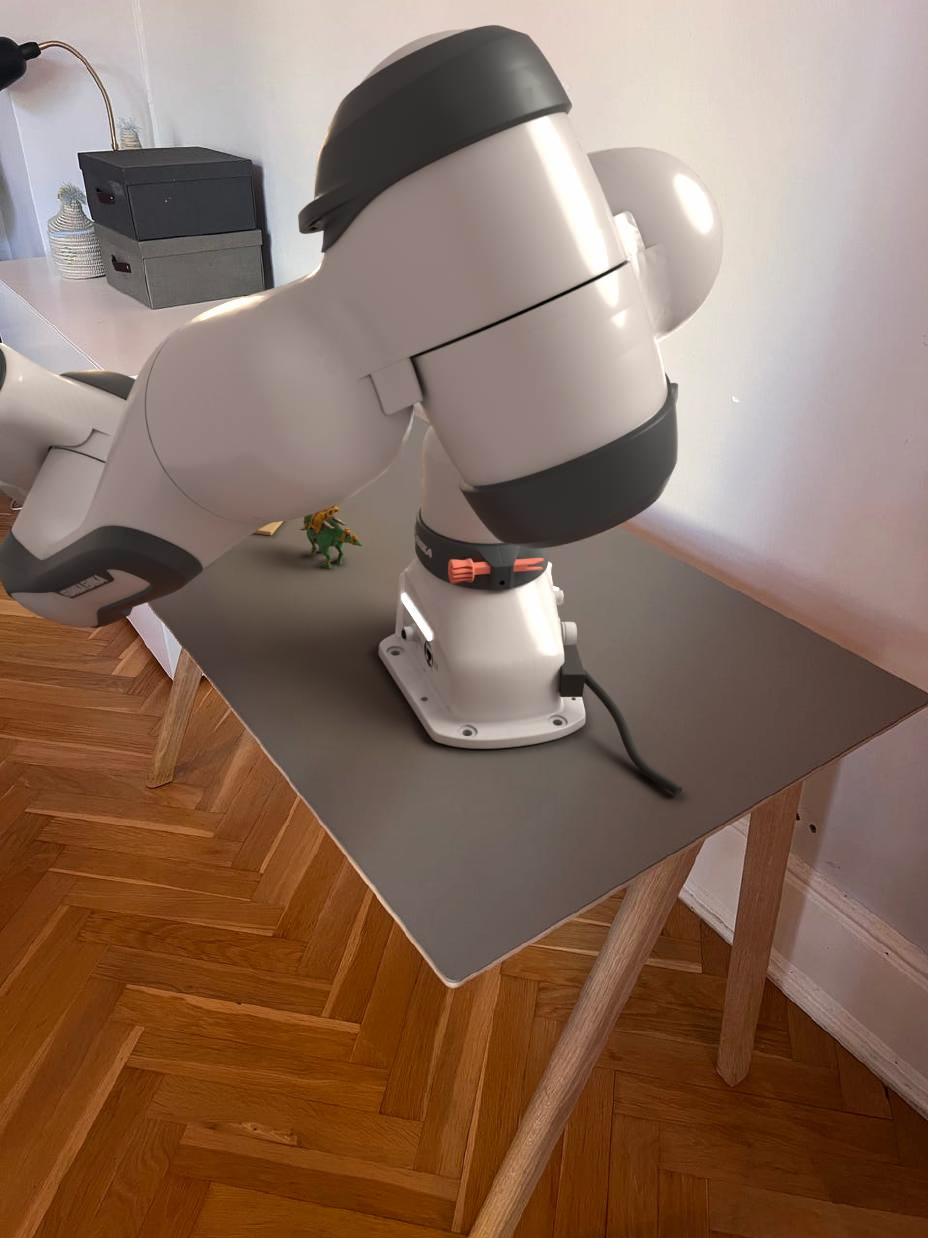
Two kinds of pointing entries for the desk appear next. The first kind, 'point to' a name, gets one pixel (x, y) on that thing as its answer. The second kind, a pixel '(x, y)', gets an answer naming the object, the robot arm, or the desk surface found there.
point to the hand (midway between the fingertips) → (151, 523)
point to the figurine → (327, 533)
